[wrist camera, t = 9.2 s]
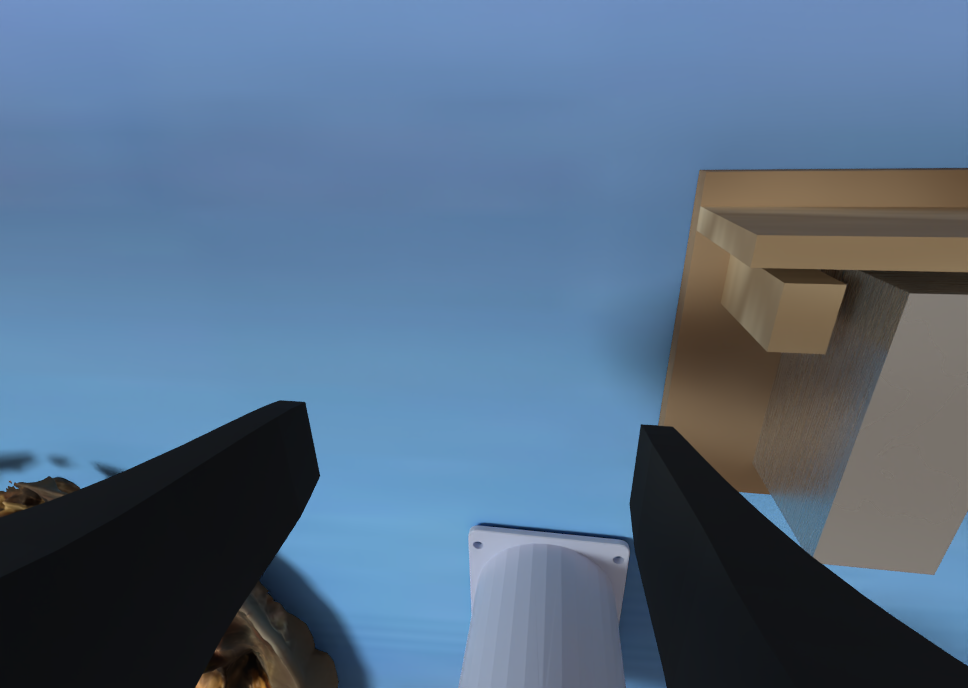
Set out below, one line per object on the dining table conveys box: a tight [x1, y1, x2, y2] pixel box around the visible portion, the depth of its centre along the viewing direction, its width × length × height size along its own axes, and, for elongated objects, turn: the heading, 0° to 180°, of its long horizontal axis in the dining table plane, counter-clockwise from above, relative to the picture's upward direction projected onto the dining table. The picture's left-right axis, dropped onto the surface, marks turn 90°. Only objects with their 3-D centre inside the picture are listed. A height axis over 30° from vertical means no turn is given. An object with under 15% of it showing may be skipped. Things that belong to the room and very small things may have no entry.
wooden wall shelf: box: [658, 168, 968, 494], centre depth 15 cm, size 13×11×6 cm
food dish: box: [0, 476, 339, 688], centre depth 31 cm, size 35×33×8 cm
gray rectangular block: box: [752, 269, 968, 575], centre depth 15 cm, size 9×4×5 cm, turn 1°
